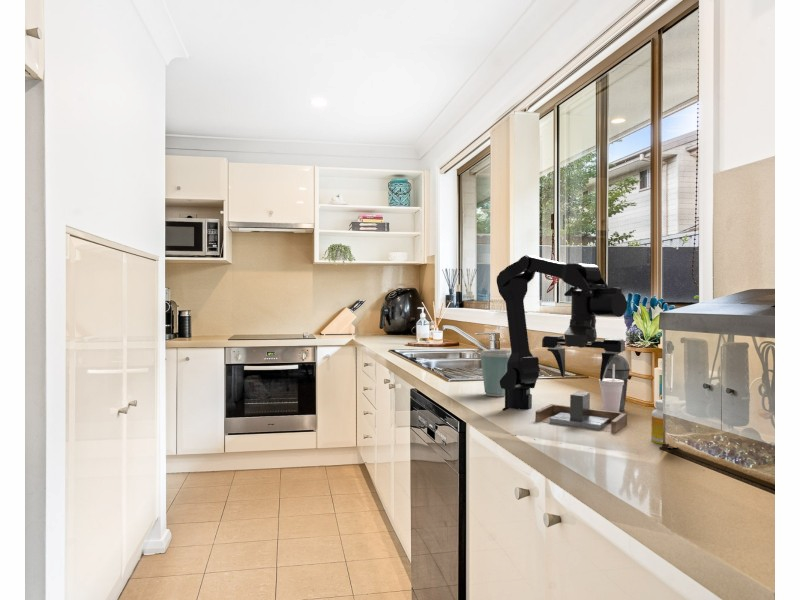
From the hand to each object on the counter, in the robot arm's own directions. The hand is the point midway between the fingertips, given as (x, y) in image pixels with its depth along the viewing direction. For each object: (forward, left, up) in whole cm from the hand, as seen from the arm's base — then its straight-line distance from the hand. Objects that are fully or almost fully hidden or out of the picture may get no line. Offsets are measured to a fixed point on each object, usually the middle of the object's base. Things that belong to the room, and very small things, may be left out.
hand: (581, 378), depth 135 cm
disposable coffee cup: (-35, +28, -12) cm, 47 cm away
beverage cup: (+2, +28, -12) cm, 31 cm away
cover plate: (0, -1, -11) cm, 11 cm away
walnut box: (0, 0, -12) cm, 12 cm away
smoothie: (+3, +18, -12) cm, 22 cm away
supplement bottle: (+20, -7, -12) cm, 24 cm away
